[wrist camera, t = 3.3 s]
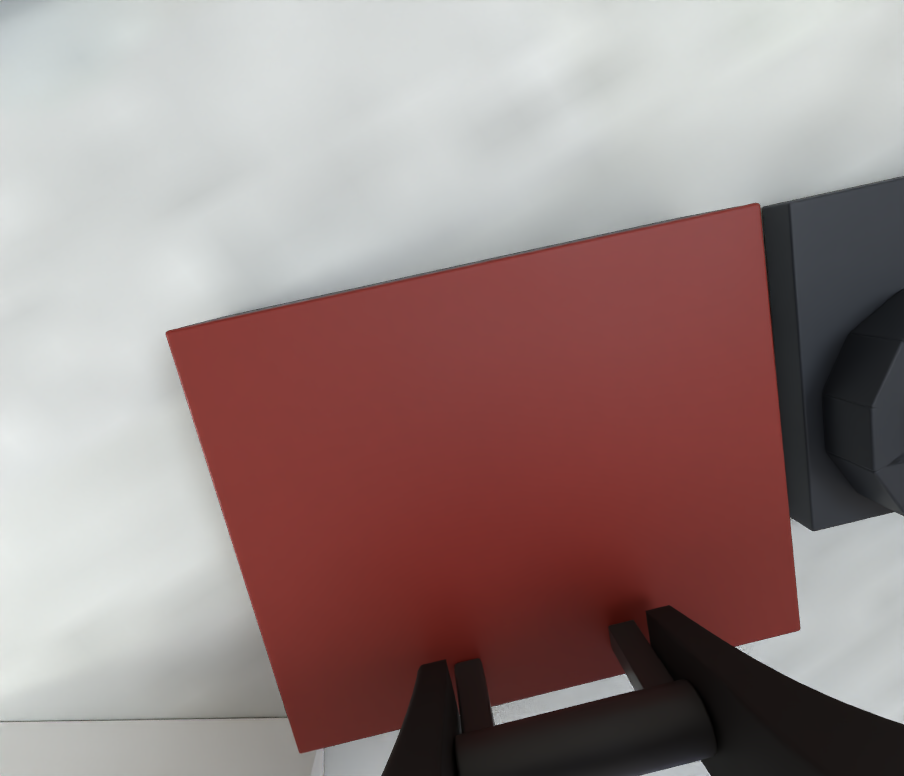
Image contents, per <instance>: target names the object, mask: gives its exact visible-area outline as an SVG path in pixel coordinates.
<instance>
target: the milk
mask: <svg viewBox="0 0 904 776" xmlns="http://www.w3.org/2000/svg"><path fill="white" fill-rule="evenodd" d="M0 776H324V748H322V749H318V750H314V751H310V752H306V753H302V754H301V753H299V751H298V748H297V745H296V742H295V738H294V735H293V732H292V729H291V726H290V723H289V720H288V718H242V719H178V720H113V721H49V722H0Z"/></svg>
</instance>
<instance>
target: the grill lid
mask: <svg viewBox="0 0 904 776" xmlns="http://www.w3.org/2000/svg"><path fill="white" fill-rule="evenodd" d="M166 337H167V340H168V343H169V346H170V350H171V353H172V356H173V359H174V362H175V365H176V368H177V372H178V375H179V378H180V381H181V384H182V387H183V390H184V394H185V397H186V400H187V403H188V406H189V409H190V412H191V415H192V419H193V422H194V425H195V428H196V431H197V434H198V437H199V441H200V444H201V447H202V450H203V453H204V456H205V459H206V463H207V466H208V469H209V472H210V475H211V478H212V481H213V484H214V488H215V491H216V494H217V497H218V500H219V503H220V506H221V510H222V513H223V516H224V519H225V522H226V525H227V528H228V531H229V535H230V538H231V541H232V544H233V547H234V550H235V553H236V557H237V560H238V563H239V566H240V569H241V572H242V575H243V579H244V582H245V585H246V588H247V591H248V594H249V597H250V600H251V604H252V607H253V610H254V613H255V616H256V619H257V622H258V626H259V629H260V632H261V635H262V638H263V641H264V644H265V648H266V651H267V654H268V657H269V660H270V663H271V666H272V669H273V673H274V676H275V679H276V682H277V685H278V688H279V691H280V695H281V698H282V701H283V704H284V707H285V710H286V713H287V717H288V720H289V723H290V726H291V729H292V732H293V735H294V738H295V742H296V745H297V748H298V751H299V753H301V754H302V753H306V752H310V751H314V750H318V749H322V748H326V747H330V746H334V745H338V744H342V743H346V742H350V741H355V740H359V739H363V738H367V737H371V736H375V735H379V734H383V733H387V732H391V731H395V730H399V729H401V726H402V724H403V721H404V718H405V715H406V712H407V709H408V706H409V703H410V700H411V696H412V693H413V689H414V685H415V681H416V677H417V672H418V669H419V668H420V666H421V665H423V664H427V663H431V662H436V661H440V660H444V659H446V662H447V666H448V670H449V674H450V678H451V682H452V686H453V690H454V694H455V698H456V702H457V706H458V710H459V714H460V720H461V728H462V734H459V735H457V736H455V739H454V748H455V757H456V764H457V770H458V776H640V775H644V774H648V773H652V772H656V771H660V770H664V769H667V768H671V767H675V766H679V765H683V764H687V763H691V762H695V761H699V760H703V759H707V758H711V757H714V756H715V755H716V753H717V741H716V736H715V732H714V728H713V725H712V722H711V719H710V716H709V714H708V711H707V709H706V707H705V705H704V703H703V701H702V699H701V697H700V695H699V694H698V692H697V691H696V689H695V688H694V686H693V685H692V684H691V683H690V682H689V681H688V680H685V679H681V680H677V681H674V680H673V678H672V677H671V675H670V674H669V672H668V671H667V669H666V668H665V666H664V665H663V663H662V662H661V660H660V659H659V657H658V656H657V654H656V653H655V651H654V650H653V648H652V647H651V645H650V638H649V631H648V625H647V618H646V612H645V611H646V610H651V609H655V608H659V607H663V606H667V605H670V606H672V607H673V608H675V609H676V610H678V611H679V612H681V613H682V614H684V615H685V616H687V617H688V618H690V619H691V620H693V621H694V622H696V623H697V624H699V625H701V626H702V627H704V628H705V629H707V630H708V631H710V632H711V633H713V634H714V635H716V636H717V637H719V638H721V639H722V640H724V641H725V642H727V643H729V644H730V645H732V646H734V647H735V646H739V645H743V644H747V643H751V642H755V641H759V640H763V639H767V638H771V637H775V636H780V635H784V634H788V633H792V632H796V631H799V630H800V620H799V609H798V599H797V588H796V578H795V567H794V557H793V546H792V536H791V525H790V514H789V504H788V493H787V483H786V472H785V462H784V451H783V441H782V430H781V420H780V409H779V399H778V388H777V378H776V367H775V357H774V346H773V336H772V325H771V315H770V304H769V294H768V283H767V273H766V262H765V252H764V241H763V231H762V220H761V210H760V204H759V203H753V204H748V205H744V206H739V207H734V208H730V209H725V210H721V211H716V212H711V213H707V214H702V215H698V216H693V217H688V218H684V219H679V220H675V221H670V222H665V223H661V224H656V225H652V226H647V227H642V228H638V229H633V230H629V231H624V232H619V233H615V234H610V235H606V236H601V237H596V238H592V239H587V240H583V241H578V242H573V243H569V244H564V245H560V246H555V247H550V248H546V249H541V250H537V251H532V252H527V253H523V254H518V255H514V256H509V257H504V258H500V259H495V260H491V261H486V262H481V263H477V264H472V265H468V266H463V267H458V268H454V269H449V270H445V271H440V272H435V273H431V274H426V275H422V276H417V277H413V278H408V279H403V280H399V281H394V282H390V283H385V284H380V285H376V286H371V287H367V288H362V289H357V290H353V291H348V292H344V293H339V294H334V295H330V296H325V297H321V298H316V299H311V300H307V301H302V302H298V303H293V304H288V305H284V306H279V307H275V308H270V309H265V310H261V311H256V312H252V313H247V314H242V315H238V316H233V317H229V318H224V319H219V320H215V321H210V322H206V323H201V324H196V325H192V326H187V327H183V328H178V329H173V330H169V331H167V332H166ZM622 674H626V675H627V677H628V679H629V680H630V682H631V684H632V686H633V688H634V689H635V691H632V692H628V693H624V694H620V695H616V696H612V697H608V698H604V699H600V700H596V701H592V702H588V703H584V704H580V705H576V706H572V707H568V708H564V709H560V710H556V711H552V712H548V713H544V714H540V715H536V716H532V717H528V718H524V719H520V720H516V721H512V722H508V723H504V724H500V725H496V726H495V724H494V719H493V714H492V709H491V707H492V706H496V705H500V704H504V703H508V702H512V701H516V700H520V699H525V698H529V697H533V696H537V695H541V694H545V693H549V692H553V691H557V690H561V689H565V688H569V687H573V686H577V685H581V684H585V683H589V682H593V681H597V680H601V679H605V678H610V677H614V676H618V675H622Z"/></svg>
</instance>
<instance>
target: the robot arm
mask: <svg viewBox="0 0 904 776" xmlns="http://www.w3.org/2000/svg"><path fill="white" fill-rule="evenodd" d="M645 612H646V618H647V625H648V631H649V638H650V645H651V647H652V648H653V650H654V651H655V653H656V654H657V656H658V657H659V659H660V660H661V662H662V663H663V665H664V666H665V668H666V669H667V671H668V672H669V674H670V675H671V677H672V678H673V680H674V681H677V680H681V679H685V680H688V681H689V682H690V683H691V684H692V685H693V686H694V688H695V689H696V691H697V692H698V694H699V695H700V697H701V699H702V701H703V703H704V705H705V707H706V709H707V711H708V714H709V716H710V719H711V722H712V725H713V728H714V732H715V736H716V741H717V753H716V755H715V756H714V757H711V758H707V759H703V760H701V761H702V763H703V764H704V766H705V767H706V769H707V770H708V772H709V773H710V775H711V776H904V725H903V724H900V723H898V722H895V721H892V720H889V719H886V718H883V717H880V716H878V715H875V714H872V713H870V712H867V711H864V710H862V709H859V708H857V707H854V706H851V705H849V704H846V703H844V702H841V701H839V700H837V699H834V698H832V697H829V696H827V695H825V694H823V693H821V692H819V691H816V690H814V689H812V688H810V687H808V686H805V685H803V684H801V683H799V682H797V681H795V680H793V679H791V678H789V677H787V676H785V675H783V674H781V673H779V672H777V671H776V670H774V669H772V668H770V667H768V666H766V665H765V664H763V663H761V662H759V661H757V660H755V659H754V658H752V657H750V656H749V655H747V654H745V653H743V652H742V651H740V650H738V649H737V648H735V647H734V646H732V645H730V644H729V643H727V642H725V641H724V640H722V639H721V638H719V637H717V636H716V635H714V634H713V633H711V632H710V631H708V630H707V629H705V628H704V627H702V626H701V625H699V624H697V623H696V622H694V621H693V620H691V619H690V618H688V617H687V616H685V615H684V614H682V613H681V612H679V611H678V610H676V609H675V608H673V607H672V606H670V605H667V606H663V607H659V608H655V609H651V610H646V611H645ZM459 734H462V728H461V720H460V714H459V710H458V706H457V702H456V698H455V694H454V690H453V686H452V682H451V678H450V674H449V670H448V666H447V662H446V659H444V660H440V661H436V662H431V663H427V664H423V665H421V666H420V668H419V669H418V672H417V677H416V681H415V685H414V689H413V693H412V696H411V700H410V703H409V706H408V709H407V712H406V715H405V718H404V721H403V724H402V726H401V729H400V732H399V735H398V738H397V740H396V743H395V745H394V747H393V750H392V752H391V755H390V757H389V759H388V762H387V764H386V766H385V769H384V771H383V773H382V775H381V776H458V770H457V764H456V757H455V748H454V739H455V736H457V735H459Z"/></svg>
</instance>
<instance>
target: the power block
mask: <svg viewBox="0 0 904 776" xmlns="http://www.w3.org/2000/svg"><path fill="white" fill-rule="evenodd" d="M763 219H764V231H765V243H766V255H767V267H768V279H769V292H770V304H771V316H772V328H773V340H774V352H775V364H776V376H777V388H778V399H779V409H780V420H781V430H782V441H783V451H784V462H785V472H786V483H787V493H788V504H789V514H790V517H791V518H793V519H794V520H796V521H797V522H799V523H800V524H802V525H804V526H805V527H807V528H808V529H810V530H811V531H817V530H821V529H826V528H830V527H834V526H838V525H842V524H846V523H851V522H855V521H859V520H863V519H867V518H871V517H875V516H880V515H884V514H888V513H892V512H896V513H898V514H900V515H902V516H904V176H902V177H897V178H893V179H888V180H883V181H879V182H874V183H870V184H865V185H860V186H856V187H851V188H847V189H842V190H837V191H833V192H828V193H824V194H819V195H815V196H810V197H805V198H801V199H796V200H792V201H787V202H782V203H778V204H773V205H769V206H765V207H763Z"/></svg>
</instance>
